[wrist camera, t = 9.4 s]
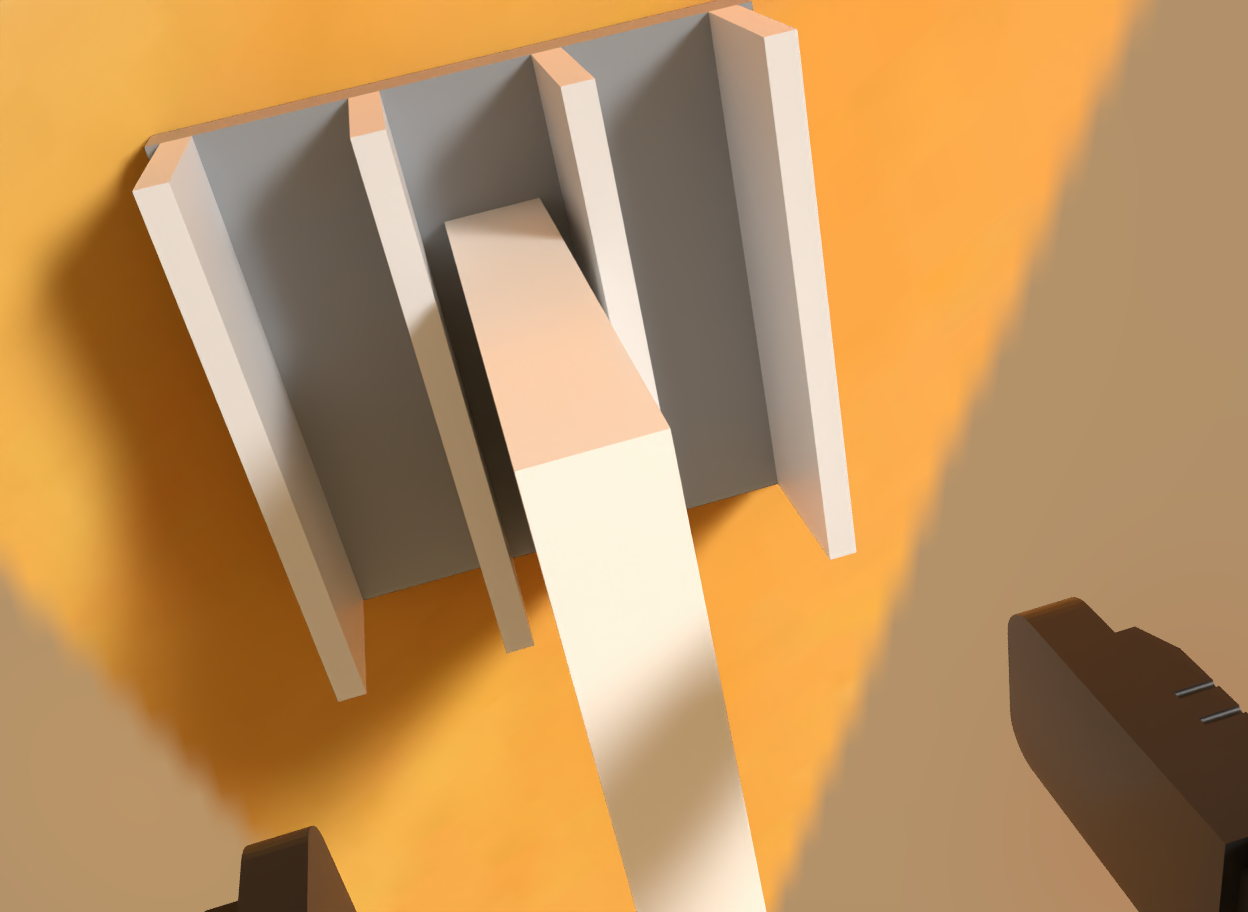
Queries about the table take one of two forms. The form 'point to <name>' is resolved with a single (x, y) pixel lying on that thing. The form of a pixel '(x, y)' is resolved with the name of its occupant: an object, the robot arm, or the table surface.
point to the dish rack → (437, 309)
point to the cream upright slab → (612, 562)
